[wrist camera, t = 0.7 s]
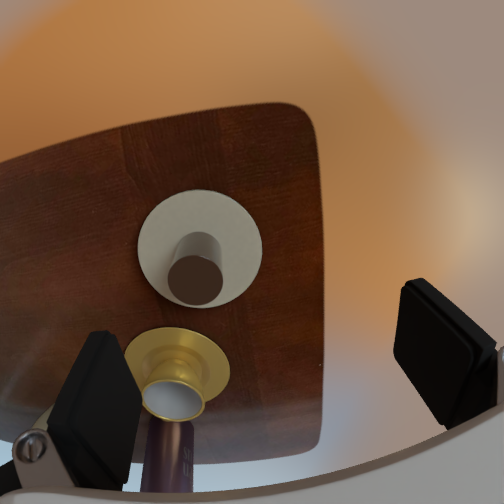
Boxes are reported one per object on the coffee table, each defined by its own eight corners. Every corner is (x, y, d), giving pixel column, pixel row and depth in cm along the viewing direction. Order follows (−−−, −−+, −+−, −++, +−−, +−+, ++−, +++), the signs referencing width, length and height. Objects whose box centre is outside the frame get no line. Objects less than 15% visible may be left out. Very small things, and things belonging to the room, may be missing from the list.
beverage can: (142, 414, 36) (126, 511, 22) (182, 406, 36) (177, 511, 22) (162, 438, 38) (155, 529, 24) (201, 432, 38) (202, 527, 24)
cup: (132, 311, 30) (119, 343, 25) (244, 341, 33) (249, 375, 28) (120, 388, 34) (110, 420, 29) (213, 411, 36) (214, 444, 31)
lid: (117, 240, 27) (92, 270, 21) (208, 162, 26) (205, 171, 20) (194, 321, 31) (190, 364, 25) (283, 256, 30) (301, 290, 23)
